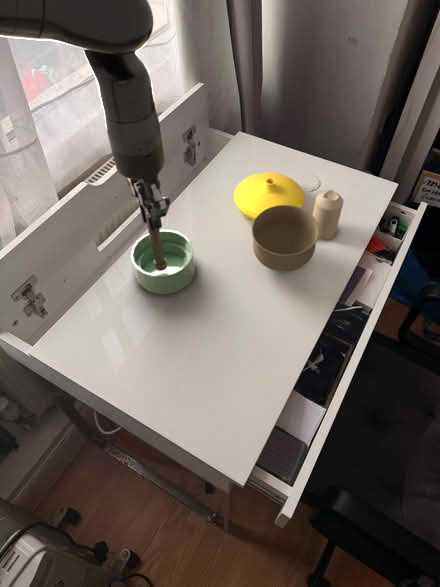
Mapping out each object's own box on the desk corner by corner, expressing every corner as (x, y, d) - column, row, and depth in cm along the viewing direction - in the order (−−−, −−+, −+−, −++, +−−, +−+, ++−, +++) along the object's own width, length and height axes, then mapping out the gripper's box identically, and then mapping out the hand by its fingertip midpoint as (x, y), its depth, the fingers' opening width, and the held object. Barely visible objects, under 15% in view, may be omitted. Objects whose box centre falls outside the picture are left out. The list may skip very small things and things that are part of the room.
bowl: (237, 267, 89) (238, 232, 81) (272, 231, 95) (275, 195, 87) (290, 296, 84) (296, 262, 76) (323, 256, 90) (332, 221, 82)
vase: (234, 183, 105) (234, 158, 99) (300, 183, 104) (304, 159, 98) (233, 229, 95) (233, 205, 90) (305, 231, 95) (310, 206, 89)
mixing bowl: (153, 305, 84) (148, 286, 79) (126, 265, 90) (120, 245, 85) (206, 277, 87) (204, 258, 82) (176, 241, 93) (173, 221, 89)
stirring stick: (158, 272, 85) (145, 209, 72) (153, 265, 87) (139, 201, 73) (169, 267, 86) (158, 204, 73) (163, 260, 87) (151, 196, 74)
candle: (314, 218, 97) (322, 182, 89) (338, 226, 95) (348, 190, 87) (306, 235, 94) (313, 199, 86) (330, 242, 92) (340, 207, 84)
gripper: (93, 124, 66) (117, 210, 80) (133, 172, 59) (151, 257, 72) (137, 109, 68) (153, 195, 82) (181, 153, 61) (190, 239, 75)
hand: (152, 224), depth 77 cm, fingers closed on stirring stick, 2 cm apart
